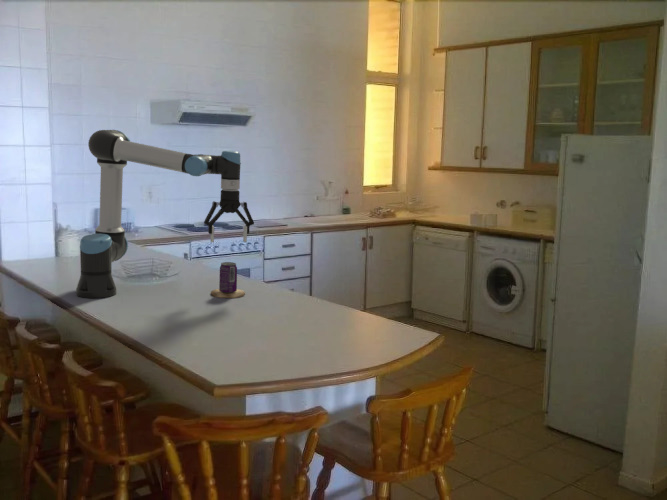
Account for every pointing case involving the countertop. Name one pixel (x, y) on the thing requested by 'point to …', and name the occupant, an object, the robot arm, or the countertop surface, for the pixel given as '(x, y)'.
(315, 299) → the countertop surface
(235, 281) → the beverage can
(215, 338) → the countertop surface
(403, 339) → the countertop surface
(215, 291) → the coaster
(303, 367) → the countertop surface
